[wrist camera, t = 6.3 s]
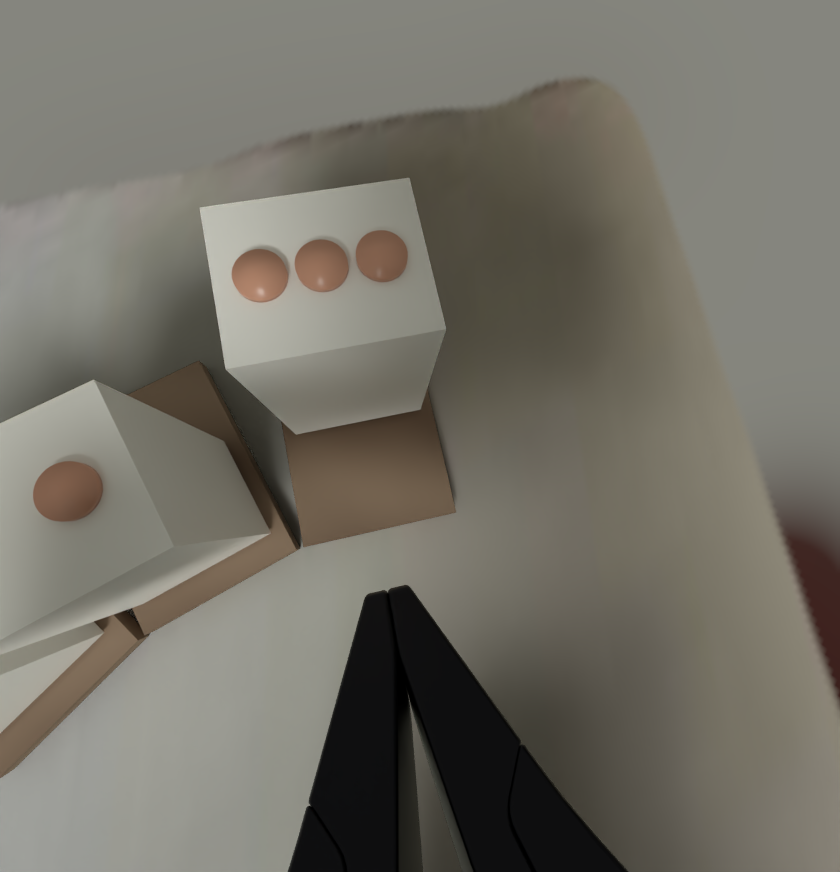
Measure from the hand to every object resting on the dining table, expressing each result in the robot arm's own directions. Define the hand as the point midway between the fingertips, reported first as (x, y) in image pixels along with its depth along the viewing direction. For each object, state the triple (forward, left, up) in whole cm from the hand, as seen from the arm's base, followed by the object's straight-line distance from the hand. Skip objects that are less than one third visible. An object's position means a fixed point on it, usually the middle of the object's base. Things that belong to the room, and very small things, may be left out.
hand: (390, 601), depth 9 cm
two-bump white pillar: (+7, -2, -10) cm, 12 cm away
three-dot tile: (+1, -7, -10) cm, 12 cm away
